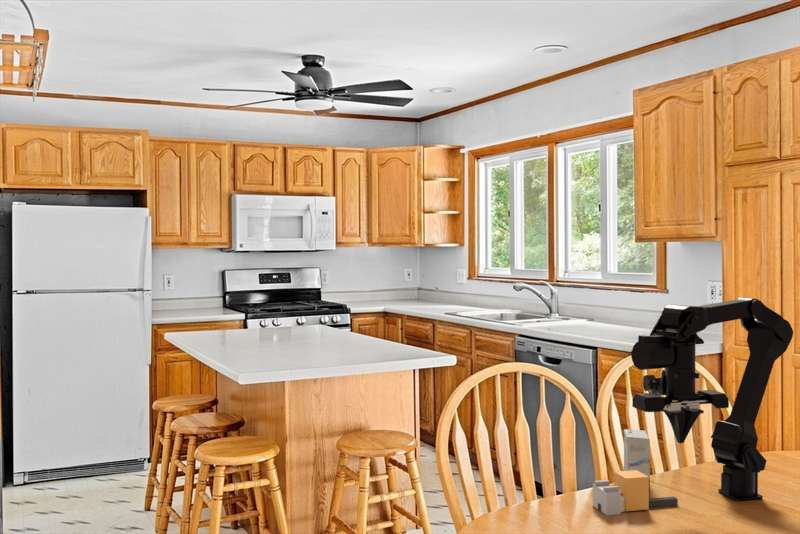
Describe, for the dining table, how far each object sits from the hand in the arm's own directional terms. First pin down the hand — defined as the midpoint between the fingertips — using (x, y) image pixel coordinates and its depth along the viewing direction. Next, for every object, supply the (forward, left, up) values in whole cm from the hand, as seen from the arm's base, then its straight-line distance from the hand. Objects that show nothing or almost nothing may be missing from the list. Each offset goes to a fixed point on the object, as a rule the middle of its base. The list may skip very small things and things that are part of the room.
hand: (680, 442), depth 157 cm
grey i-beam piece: (+16, -1, -13) cm, 21 cm away
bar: (+9, -1, -13) cm, 16 cm away
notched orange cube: (+10, -1, -13) cm, 17 cm away
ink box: (+2, -14, -13) cm, 19 cm away
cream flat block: (+13, -1, -13) cm, 19 cm away
